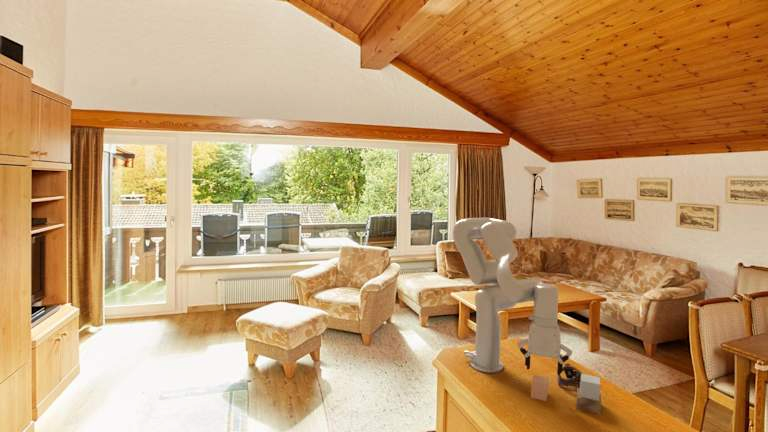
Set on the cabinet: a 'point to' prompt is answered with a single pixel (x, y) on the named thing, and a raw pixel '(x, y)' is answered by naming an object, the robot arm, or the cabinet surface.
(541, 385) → the terracotta block
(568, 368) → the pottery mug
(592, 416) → the cabinet surface
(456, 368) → the cabinet surface
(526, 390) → the cabinet surface
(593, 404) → the tan cardboard-coloured box
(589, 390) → the greyblue cube
